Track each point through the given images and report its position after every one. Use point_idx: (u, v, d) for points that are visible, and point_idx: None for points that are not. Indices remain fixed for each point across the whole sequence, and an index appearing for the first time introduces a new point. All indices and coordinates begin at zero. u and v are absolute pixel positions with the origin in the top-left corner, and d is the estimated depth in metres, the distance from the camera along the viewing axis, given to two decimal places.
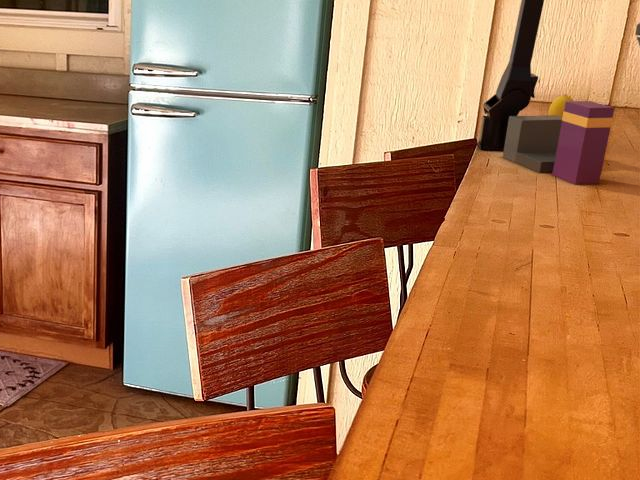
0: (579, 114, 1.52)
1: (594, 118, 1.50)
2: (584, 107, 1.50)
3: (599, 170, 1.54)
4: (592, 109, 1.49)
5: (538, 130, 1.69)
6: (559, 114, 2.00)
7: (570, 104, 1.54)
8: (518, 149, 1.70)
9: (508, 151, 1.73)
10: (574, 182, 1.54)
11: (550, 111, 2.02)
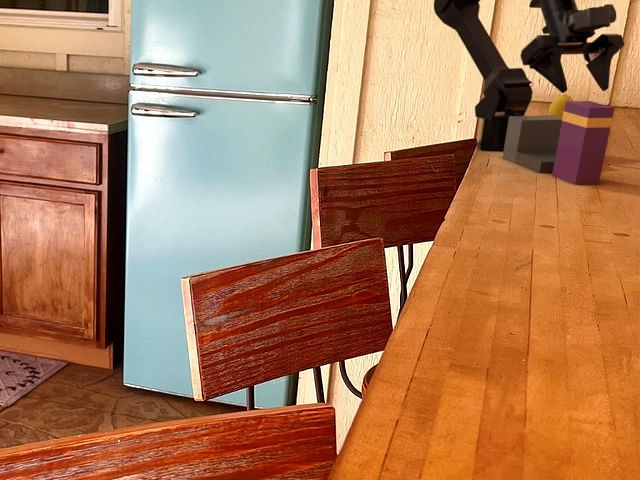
0: (579, 114, 1.52)
1: (594, 118, 1.50)
2: (584, 107, 1.50)
3: (599, 170, 1.54)
4: (592, 109, 1.49)
5: (538, 130, 1.69)
6: (559, 114, 2.00)
7: (570, 104, 1.54)
8: (518, 149, 1.70)
9: (508, 151, 1.73)
10: (574, 182, 1.54)
11: (550, 111, 2.02)
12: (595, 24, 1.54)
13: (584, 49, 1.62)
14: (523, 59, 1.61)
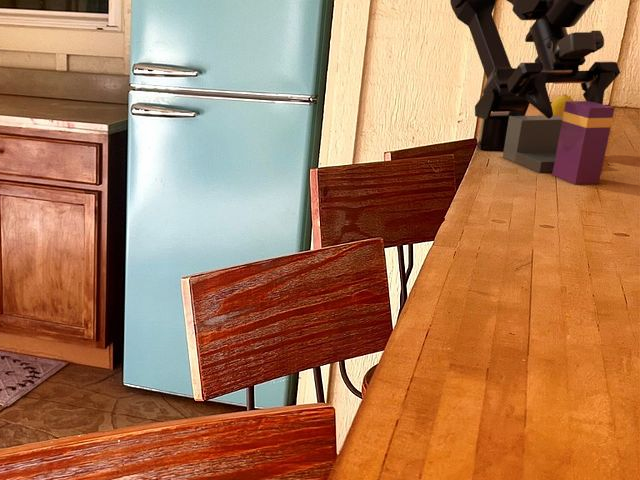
0: (579, 114, 1.52)
1: (594, 118, 1.50)
2: (584, 107, 1.50)
3: (599, 170, 1.54)
4: (592, 109, 1.49)
5: (538, 130, 1.69)
6: (559, 114, 2.00)
7: (570, 104, 1.54)
8: (518, 149, 1.70)
9: (508, 151, 1.73)
10: (574, 182, 1.54)
11: None
12: (577, 49, 1.53)
13: (576, 77, 1.60)
14: (509, 88, 1.60)
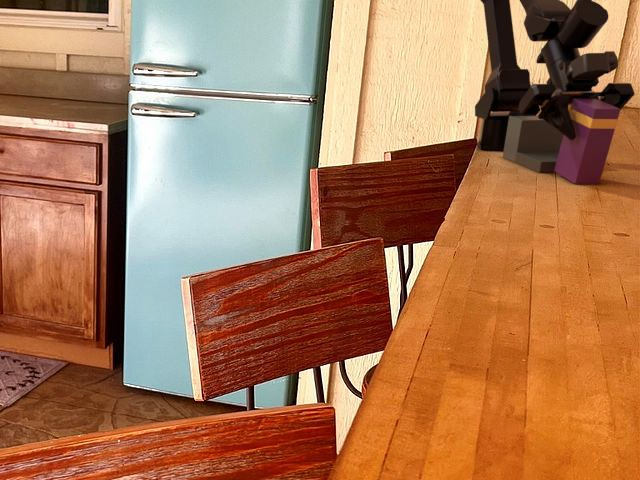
0: (584, 113, 1.51)
1: (599, 119, 1.49)
2: (590, 107, 1.50)
3: (600, 171, 1.54)
4: (597, 110, 1.48)
5: (538, 130, 1.69)
6: None
7: (577, 102, 1.53)
8: (518, 149, 1.70)
9: (508, 151, 1.73)
10: (574, 181, 1.54)
11: None
12: (591, 69, 1.49)
13: (589, 98, 1.56)
14: (521, 109, 1.57)
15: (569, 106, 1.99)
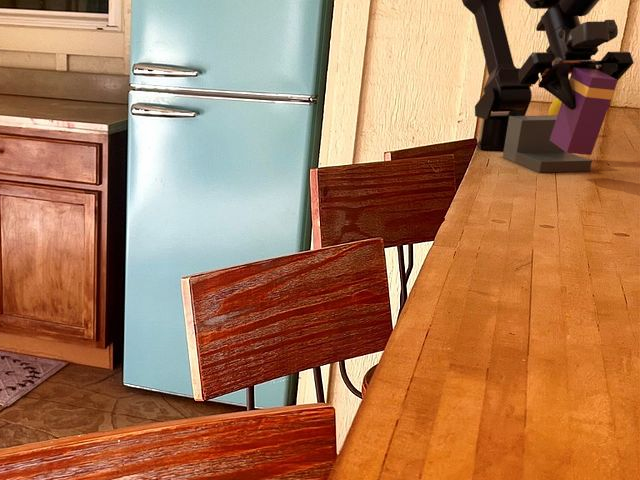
0: (582, 82, 1.51)
1: (596, 88, 1.49)
2: (588, 76, 1.50)
3: (593, 141, 1.54)
4: (594, 79, 1.49)
5: (538, 130, 1.69)
6: None
7: (576, 71, 1.54)
8: (518, 149, 1.70)
9: (508, 151, 1.73)
10: (566, 150, 1.55)
11: (550, 111, 2.02)
12: (591, 38, 1.49)
13: (588, 67, 1.56)
14: (520, 78, 1.57)
15: None
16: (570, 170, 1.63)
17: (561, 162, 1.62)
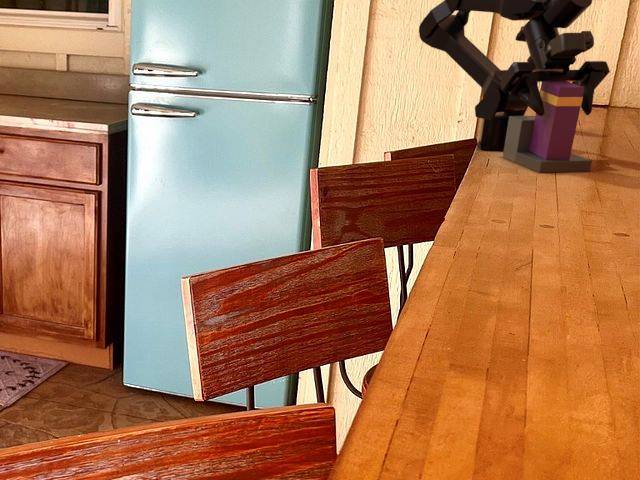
0: (551, 93, 1.61)
1: (564, 97, 1.59)
2: (555, 86, 1.59)
3: (569, 147, 1.63)
4: (562, 88, 1.58)
5: None
6: None
7: (545, 83, 1.63)
8: (518, 149, 1.70)
9: (508, 151, 1.73)
10: (545, 158, 1.64)
11: None
12: (568, 48, 1.58)
13: (567, 76, 1.65)
14: (502, 86, 1.66)
15: None
16: (570, 170, 1.63)
17: (561, 162, 1.62)
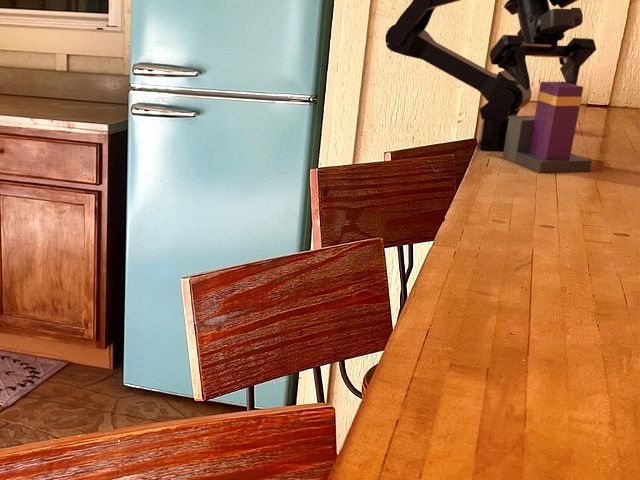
0: (550, 93, 1.61)
1: (563, 96, 1.59)
2: (554, 86, 1.60)
3: (569, 147, 1.63)
4: (561, 88, 1.58)
5: None
6: None
7: (544, 84, 1.64)
8: (518, 149, 1.70)
9: (508, 151, 1.73)
10: (545, 158, 1.64)
11: None
12: (557, 24, 1.61)
13: (555, 51, 1.68)
14: (491, 58, 1.69)
15: None
16: (570, 170, 1.63)
17: (561, 162, 1.62)
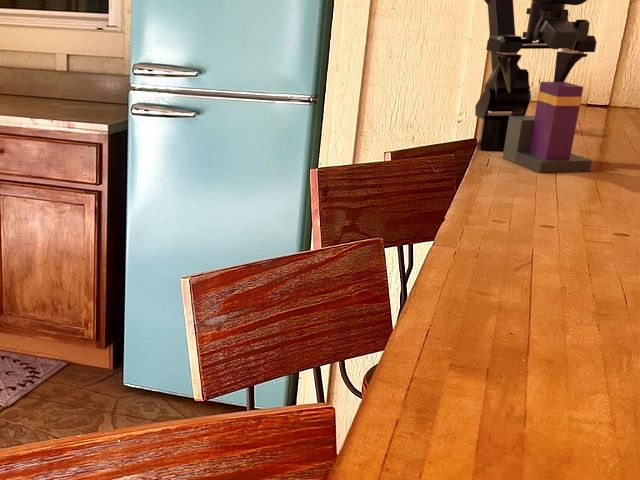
0: (550, 93, 1.61)
1: (563, 96, 1.59)
2: (554, 86, 1.60)
3: (569, 147, 1.63)
4: (561, 88, 1.58)
5: None
6: None
7: (544, 84, 1.64)
8: (518, 149, 1.70)
9: (508, 151, 1.73)
10: (545, 158, 1.64)
11: None
12: (556, 48, 1.56)
13: None
14: (487, 47, 1.64)
15: None
16: (570, 170, 1.63)
17: (561, 162, 1.62)
